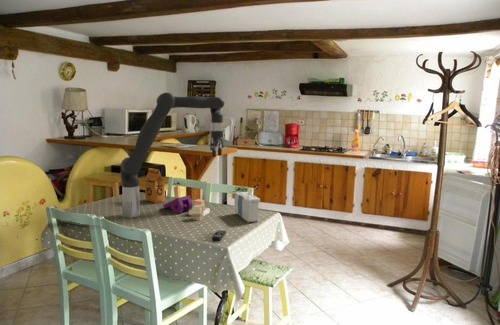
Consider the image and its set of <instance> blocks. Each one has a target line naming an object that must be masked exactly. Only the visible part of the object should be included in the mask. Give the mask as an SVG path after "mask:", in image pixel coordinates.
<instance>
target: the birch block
mask: <svg viewBox="0 0 500 325" xmlns="http://www.w3.org/2000/svg"><path fill="white" fill-rule="evenodd" d="M204 205H205V204H204ZM204 205H195V206H194V205H192V209H193V215H192V220H193V221H202V220H203V219H204V218H205V216H204V208H205V206H204Z"/></svg>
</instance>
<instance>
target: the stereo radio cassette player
mask: <svg viewBox="0 0 500 325" xmlns="http://www.w3.org/2000/svg"><path fill="white" fill-rule="evenodd" d="M256 188H258V185H257V186H256V187H254V188H253V189H251V191H250V192H248V191H240V192H238V191H237V192H234V213H236V214H237V216H239V217H240V218H242V219H243V220H244V221H246V222H247V223H253V222H254V223H255V222H256V221H257V222H258V221H259V205H260V204H259V202H260V201H261V199H260V198H259V197H258V196H256V195H255V194H252V192H253V191H254V190H255V189H256Z"/></svg>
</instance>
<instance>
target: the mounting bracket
mask: <svg viewBox="0 0 500 325" xmlns="http://www.w3.org/2000/svg"><path fill="white" fill-rule="evenodd" d="M162 206H163V209H164V210H165V209H168V208H171V210H172V212H173V213H175V214H181V213H183V212H184V211H185V212H189V210H191V209H193V202H192V199H191V196H190V195H185V196H181V197H177V198H175V199H172V200H170V201H168V202H166V203H164V204H163V205H162Z"/></svg>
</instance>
